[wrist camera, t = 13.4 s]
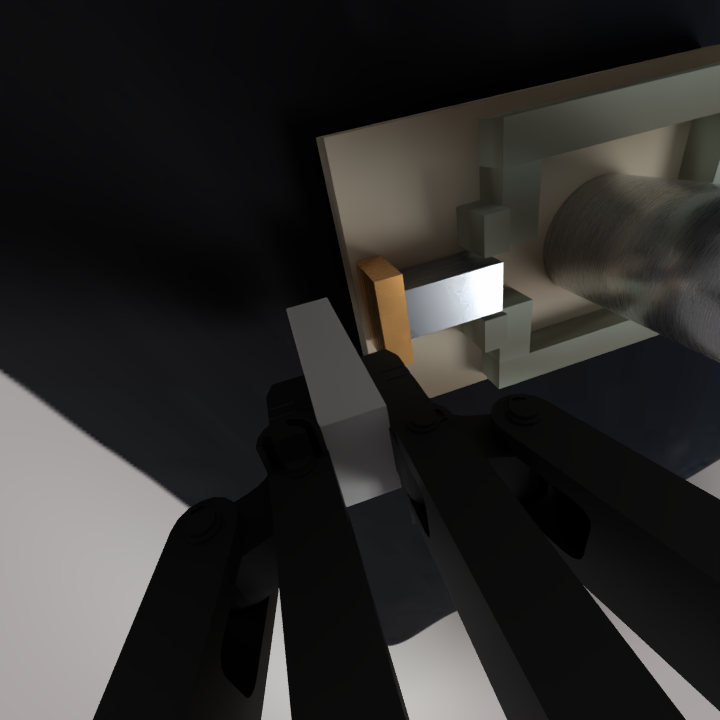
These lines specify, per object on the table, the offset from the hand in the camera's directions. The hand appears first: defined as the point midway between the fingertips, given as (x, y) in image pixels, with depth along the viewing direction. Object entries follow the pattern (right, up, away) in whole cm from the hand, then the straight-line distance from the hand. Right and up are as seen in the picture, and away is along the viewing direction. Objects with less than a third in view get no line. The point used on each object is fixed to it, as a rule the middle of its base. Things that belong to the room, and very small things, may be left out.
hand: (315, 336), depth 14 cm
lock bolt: (+4, +2, +2) cm, 5 cm away
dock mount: (+9, +4, +4) cm, 11 cm away
